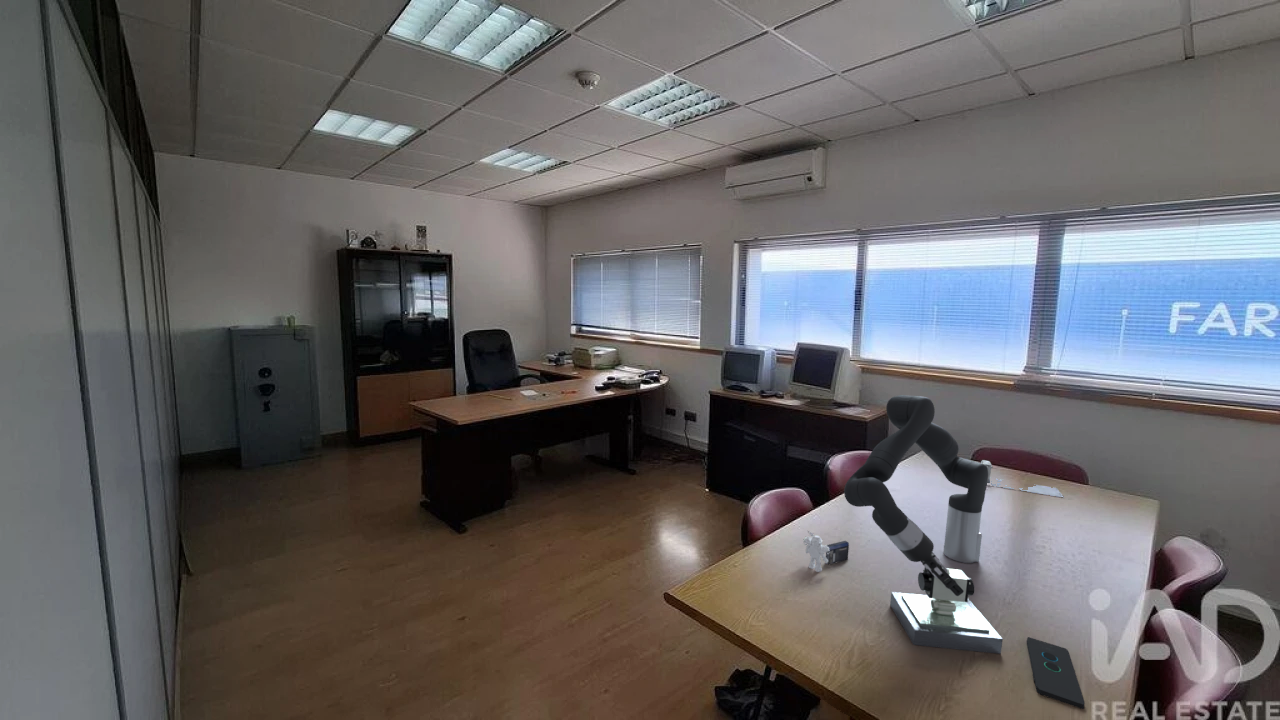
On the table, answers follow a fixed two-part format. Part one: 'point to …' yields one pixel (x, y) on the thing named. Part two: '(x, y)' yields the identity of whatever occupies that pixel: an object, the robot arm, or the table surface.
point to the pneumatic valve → (945, 590)
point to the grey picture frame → (945, 625)
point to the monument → (1034, 489)
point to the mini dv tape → (837, 552)
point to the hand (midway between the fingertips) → (951, 583)
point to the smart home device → (1054, 673)
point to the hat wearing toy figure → (816, 551)
